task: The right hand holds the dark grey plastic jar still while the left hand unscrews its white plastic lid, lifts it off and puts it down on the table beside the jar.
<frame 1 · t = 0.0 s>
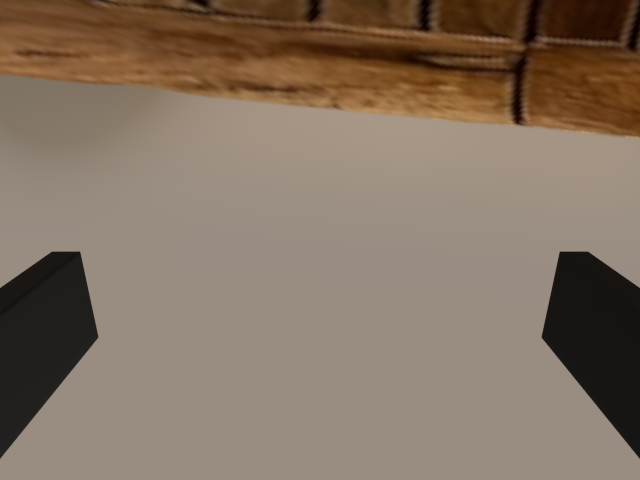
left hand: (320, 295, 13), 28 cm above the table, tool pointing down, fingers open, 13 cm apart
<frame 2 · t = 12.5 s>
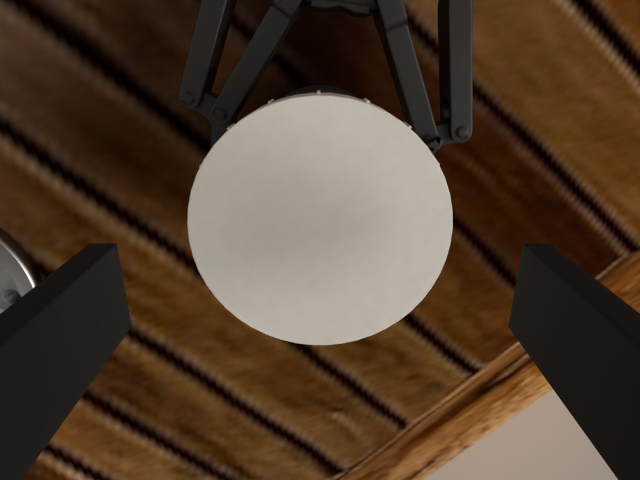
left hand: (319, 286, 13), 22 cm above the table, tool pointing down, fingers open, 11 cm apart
jar: (319, 149, 34), on the table, touching right hand
lid: (320, 230, 17), point 18 cm above the table, screwed on, not yet turned
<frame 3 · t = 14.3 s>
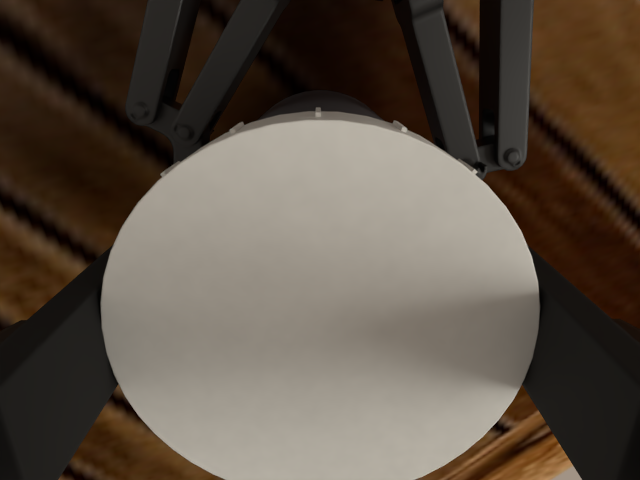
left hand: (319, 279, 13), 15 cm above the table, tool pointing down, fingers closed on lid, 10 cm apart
jar: (320, 170, 27), on the table, touching right hand
lid: (320, 334, 11), point 18 cm above the table, screwed on, not yet turned, touching left hand
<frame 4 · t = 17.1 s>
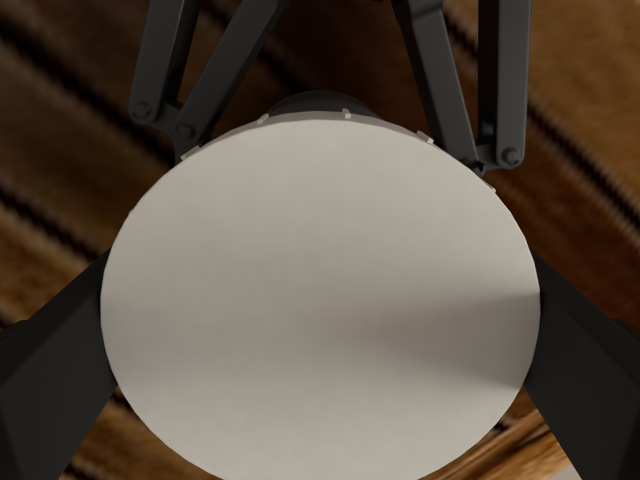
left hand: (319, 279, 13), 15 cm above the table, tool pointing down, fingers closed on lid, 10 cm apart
jar: (320, 169, 27), on the table, touching right hand
lid: (320, 334, 11), point 18 cm above the table, turned 73° so far, risen 0.2 cm, still on its thread, touching left hand
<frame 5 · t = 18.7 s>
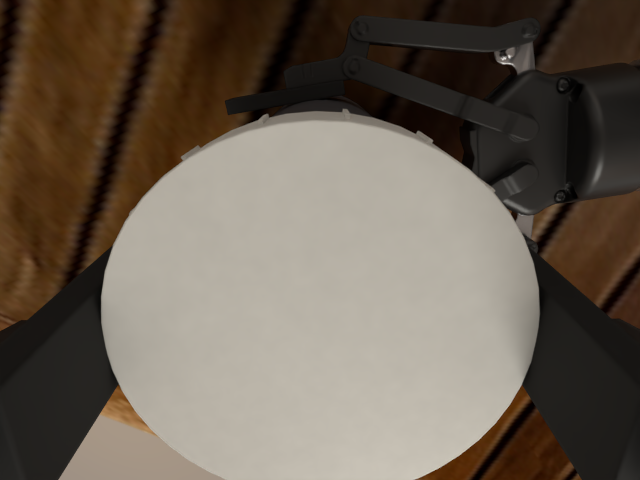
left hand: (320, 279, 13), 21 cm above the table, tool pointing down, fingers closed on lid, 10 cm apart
right hand: (250, 189, 27), fingers closed on jar, 9 cm apart
jar: (321, 157, 34), on the table, touching right hand
lid: (320, 334, 11), point 24 cm above the table, off its thread, touching left hand
when the left hand's fingers open (0 cm above the table, at t = 24.0 s): lid drops 2 cm, point 1 cm above the table.
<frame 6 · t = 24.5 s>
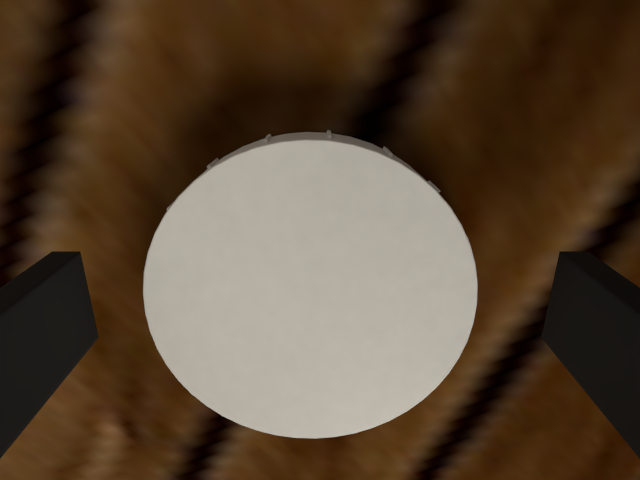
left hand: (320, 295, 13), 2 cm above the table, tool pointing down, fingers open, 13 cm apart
lid: (311, 302, 14), point 1 cm above the table, off its thread
when the right hand's fingers open (7 cm above the table, at t = 25.0 s): jar stays where it is, on the table.
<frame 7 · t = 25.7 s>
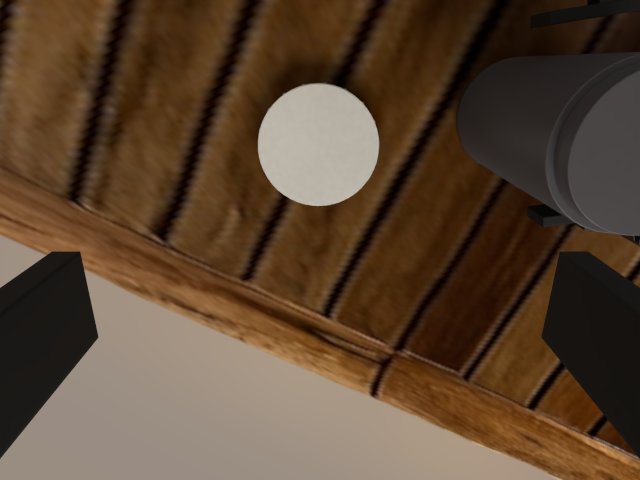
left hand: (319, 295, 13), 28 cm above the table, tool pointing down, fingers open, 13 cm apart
jar: (511, 115, 38), on the table
lid: (318, 147, 37), point 1 cm above the table, off its thread
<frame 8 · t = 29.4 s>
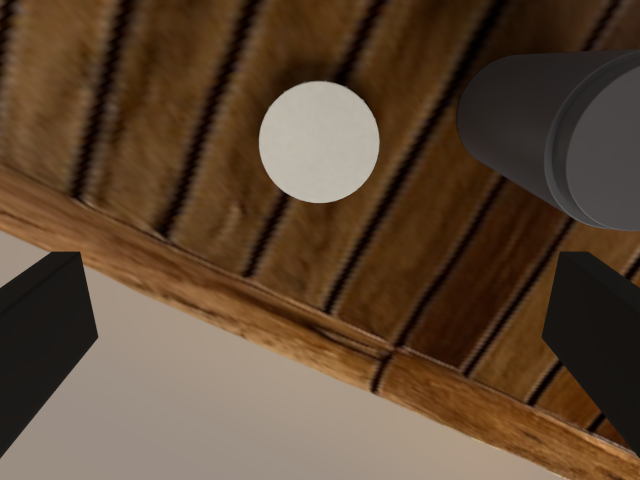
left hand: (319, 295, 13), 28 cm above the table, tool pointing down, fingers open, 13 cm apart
jar: (511, 113, 38), on the table
lid: (319, 144, 38), point 1 cm above the table, off its thread
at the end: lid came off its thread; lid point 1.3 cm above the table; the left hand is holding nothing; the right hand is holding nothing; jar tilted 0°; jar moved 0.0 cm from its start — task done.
